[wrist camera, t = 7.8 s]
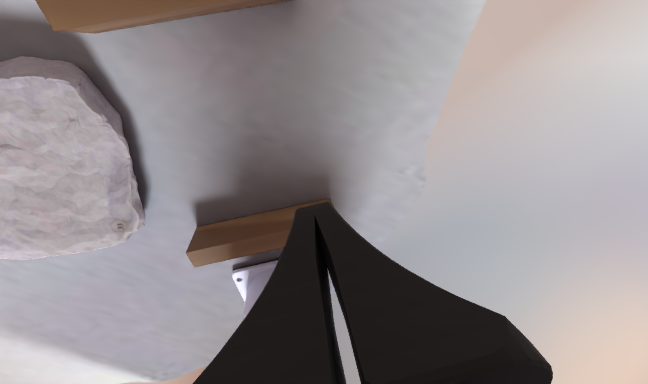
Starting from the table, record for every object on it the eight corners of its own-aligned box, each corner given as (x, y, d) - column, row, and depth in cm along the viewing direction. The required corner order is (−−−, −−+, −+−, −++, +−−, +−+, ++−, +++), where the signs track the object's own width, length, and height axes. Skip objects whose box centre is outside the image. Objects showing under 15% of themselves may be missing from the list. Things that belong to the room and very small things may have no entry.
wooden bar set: (331, 212, 22) (338, 234, 20) (21, 280, 21) (-16, 314, 18) (257, -229, 10) (251, -318, 8) (-468, -146, 9) (-765, -222, 6)
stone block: (105, 48, 16) (-123, 65, 13) (71, 52, 12) (-261, 77, 9) (176, 205, 22) (34, 238, 19) (169, 240, 18) (-10, 287, 16)
